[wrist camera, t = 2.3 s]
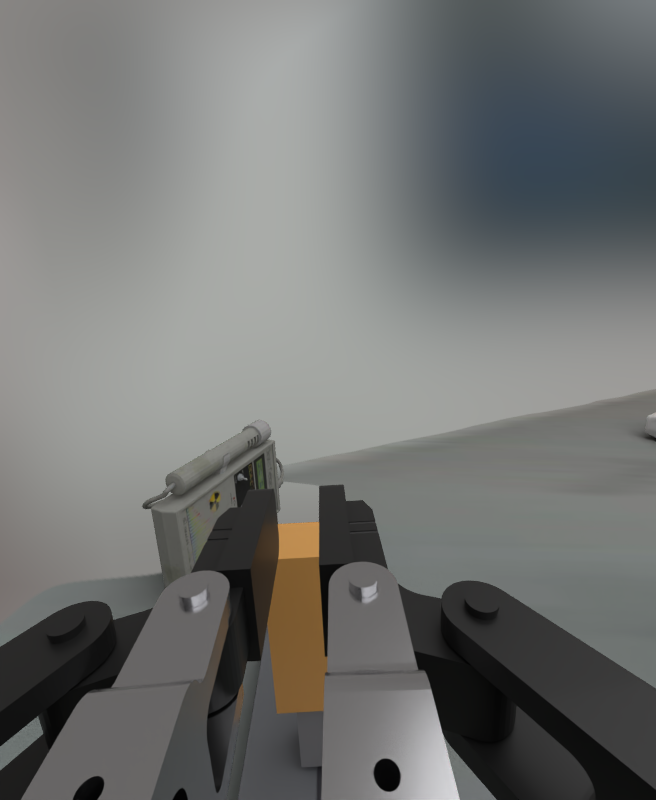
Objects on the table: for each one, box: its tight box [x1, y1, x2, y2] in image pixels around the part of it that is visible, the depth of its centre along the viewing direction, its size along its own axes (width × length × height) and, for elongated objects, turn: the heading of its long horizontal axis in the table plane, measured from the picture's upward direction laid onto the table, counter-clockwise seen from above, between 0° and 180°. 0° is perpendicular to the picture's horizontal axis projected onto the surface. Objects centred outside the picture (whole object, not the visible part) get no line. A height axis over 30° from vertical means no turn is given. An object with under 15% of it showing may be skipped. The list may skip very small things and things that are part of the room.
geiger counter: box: [143, 420, 284, 588], centre depth 46 cm, size 14×6×25 cm
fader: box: [267, 522, 328, 767], centre depth 21 cm, size 3×5×14 cm, turn 91°
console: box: [238, 625, 322, 800], centre depth 28 cm, size 26×10×3 cm, turn 1°
